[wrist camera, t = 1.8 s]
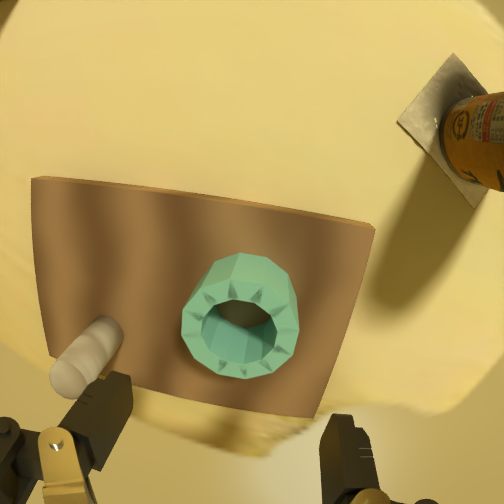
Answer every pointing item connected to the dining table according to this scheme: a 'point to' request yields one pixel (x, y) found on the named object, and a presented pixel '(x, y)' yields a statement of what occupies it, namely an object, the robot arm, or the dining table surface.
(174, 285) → the board
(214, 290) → the ring
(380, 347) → the dining table surface
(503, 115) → the condiment
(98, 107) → the dining table surface
